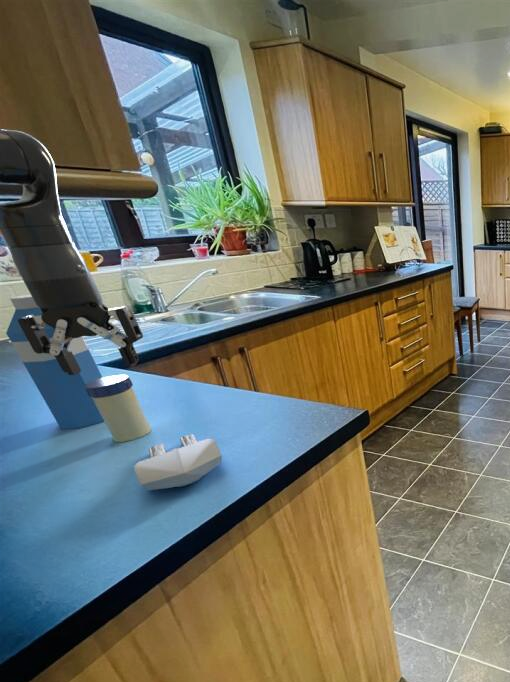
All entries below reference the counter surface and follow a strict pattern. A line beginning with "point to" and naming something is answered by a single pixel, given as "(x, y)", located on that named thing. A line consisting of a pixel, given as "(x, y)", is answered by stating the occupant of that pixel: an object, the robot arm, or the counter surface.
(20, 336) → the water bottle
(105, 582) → the counter surface
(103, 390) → the lid
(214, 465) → the white elongated knobbed piece
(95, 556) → the counter surface
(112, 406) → the jar
